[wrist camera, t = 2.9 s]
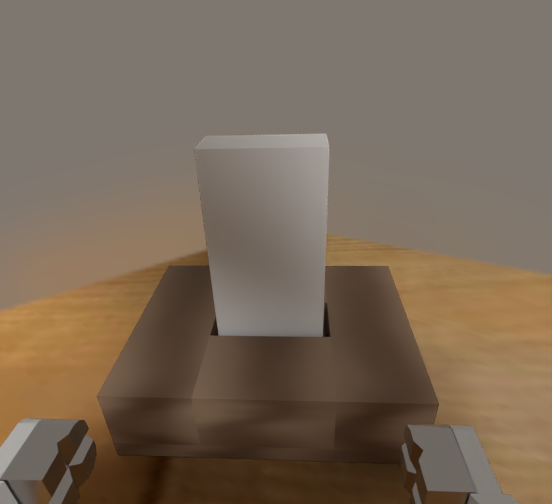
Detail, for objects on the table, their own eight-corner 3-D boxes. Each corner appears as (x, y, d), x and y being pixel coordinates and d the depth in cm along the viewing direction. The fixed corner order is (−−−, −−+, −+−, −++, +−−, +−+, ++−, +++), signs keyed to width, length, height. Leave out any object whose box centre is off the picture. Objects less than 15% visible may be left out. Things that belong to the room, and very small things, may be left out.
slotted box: (117, 454, 21) (96, 396, 19) (178, 313, 32) (169, 265, 29) (423, 464, 20) (438, 404, 18) (382, 315, 31) (388, 266, 28)
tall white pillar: (223, 375, 25) (194, 149, 18) (230, 347, 27) (205, 135, 20) (321, 377, 24) (329, 146, 17) (319, 348, 26) (326, 133, 19)
